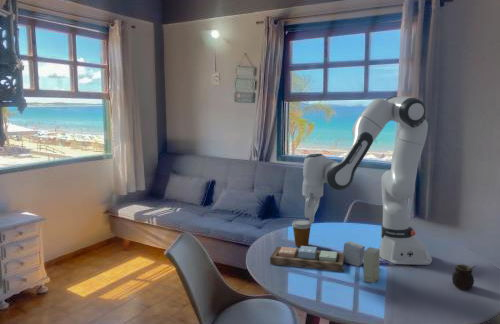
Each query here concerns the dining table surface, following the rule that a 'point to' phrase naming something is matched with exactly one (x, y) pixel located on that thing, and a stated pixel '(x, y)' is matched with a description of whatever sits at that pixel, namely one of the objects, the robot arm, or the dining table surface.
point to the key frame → (308, 261)
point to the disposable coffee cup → (301, 232)
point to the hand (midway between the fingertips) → (311, 222)
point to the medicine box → (353, 253)
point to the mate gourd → (463, 277)
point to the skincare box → (371, 265)
